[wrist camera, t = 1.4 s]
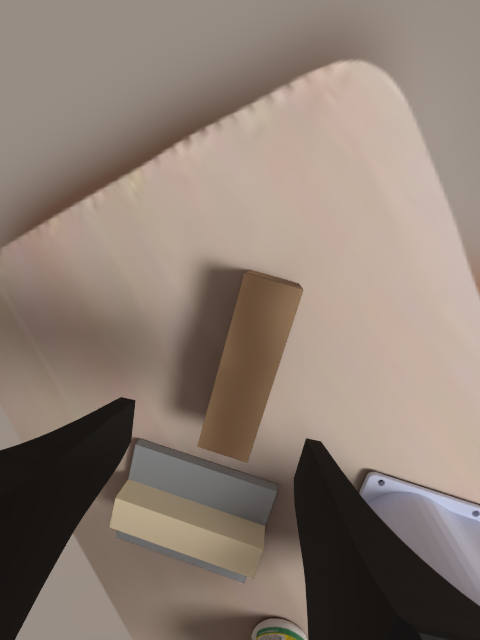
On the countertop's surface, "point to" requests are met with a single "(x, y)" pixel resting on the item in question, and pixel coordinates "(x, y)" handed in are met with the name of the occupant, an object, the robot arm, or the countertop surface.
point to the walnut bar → (249, 363)
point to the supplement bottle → (277, 630)
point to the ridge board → (200, 490)
